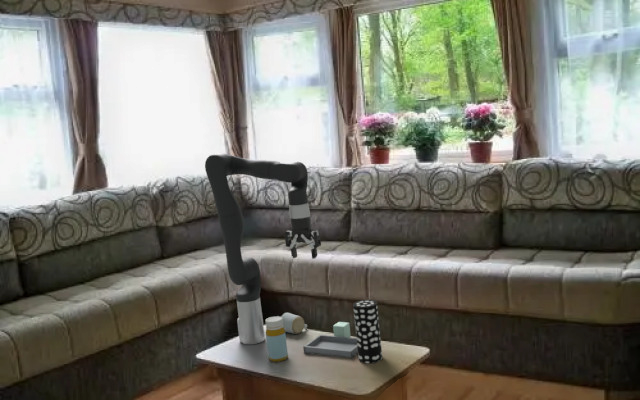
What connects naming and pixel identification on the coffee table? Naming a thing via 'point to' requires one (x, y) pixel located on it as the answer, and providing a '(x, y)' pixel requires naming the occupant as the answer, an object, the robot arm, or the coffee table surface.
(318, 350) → the gray tray
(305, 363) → the coffee table surface
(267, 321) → the bottle
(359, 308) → the white-spotted black cylinder
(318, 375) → the coffee table surface
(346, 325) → the sage block
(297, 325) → the ceramic mug
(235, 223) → the robot arm
